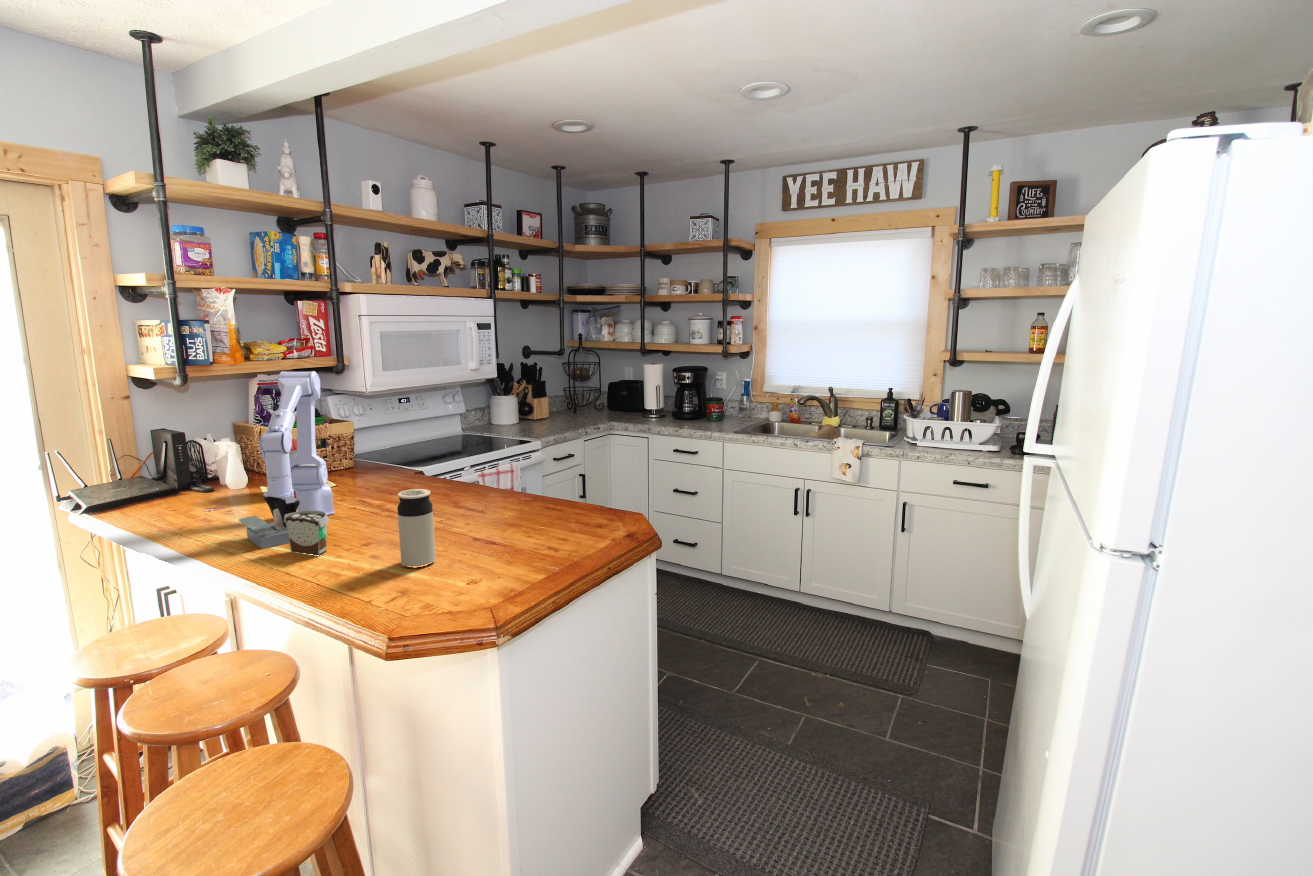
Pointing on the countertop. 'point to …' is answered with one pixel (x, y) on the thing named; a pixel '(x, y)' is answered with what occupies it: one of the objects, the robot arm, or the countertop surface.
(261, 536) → the socket block
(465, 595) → the countertop surface
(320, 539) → the food container
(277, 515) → the peg
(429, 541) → the travel mug
